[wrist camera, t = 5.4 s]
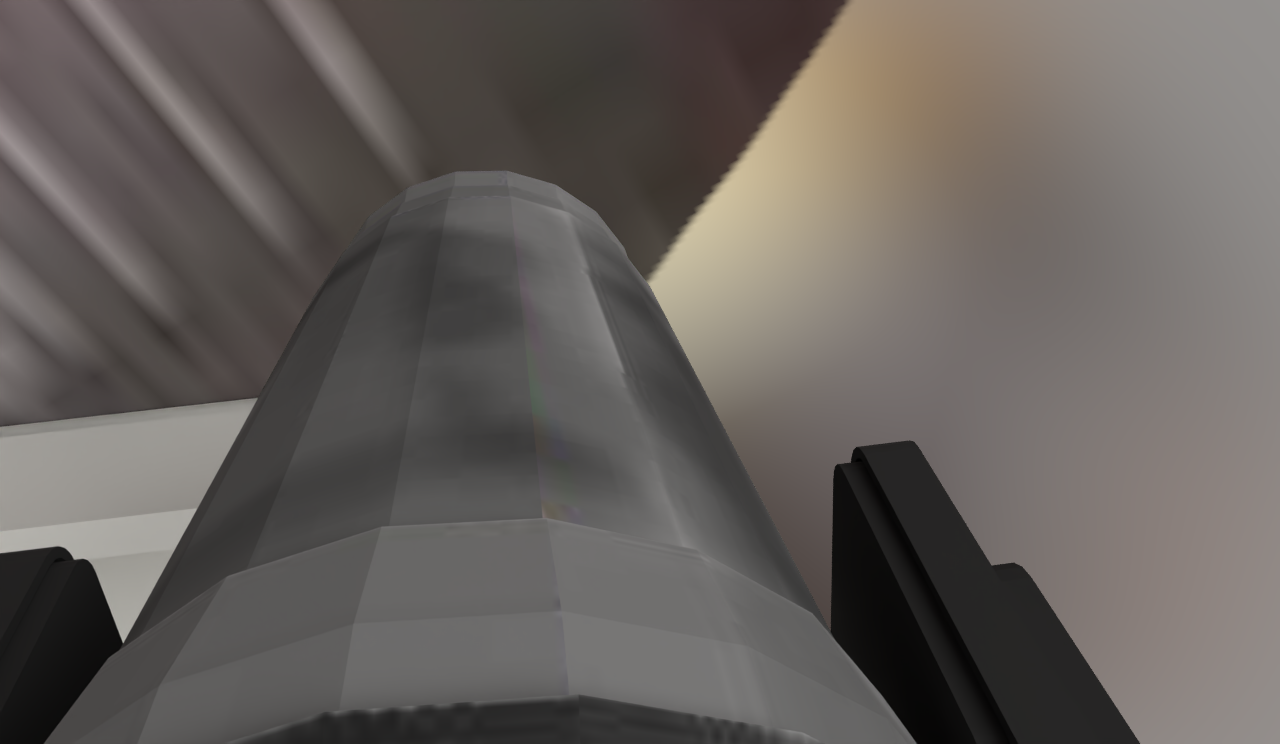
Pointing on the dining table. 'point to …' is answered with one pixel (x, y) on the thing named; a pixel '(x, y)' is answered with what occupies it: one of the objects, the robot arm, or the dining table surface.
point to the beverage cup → (481, 521)
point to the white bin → (114, 489)
